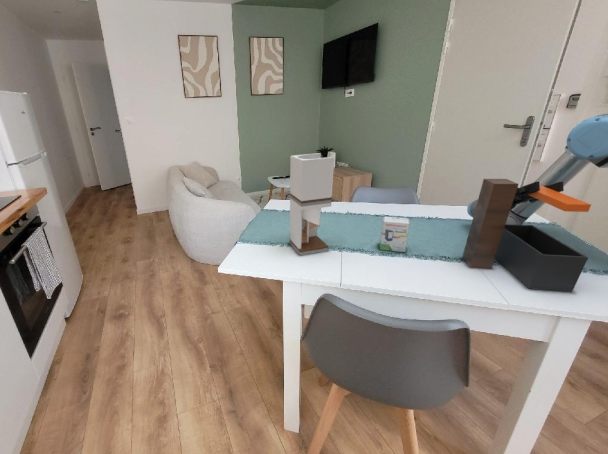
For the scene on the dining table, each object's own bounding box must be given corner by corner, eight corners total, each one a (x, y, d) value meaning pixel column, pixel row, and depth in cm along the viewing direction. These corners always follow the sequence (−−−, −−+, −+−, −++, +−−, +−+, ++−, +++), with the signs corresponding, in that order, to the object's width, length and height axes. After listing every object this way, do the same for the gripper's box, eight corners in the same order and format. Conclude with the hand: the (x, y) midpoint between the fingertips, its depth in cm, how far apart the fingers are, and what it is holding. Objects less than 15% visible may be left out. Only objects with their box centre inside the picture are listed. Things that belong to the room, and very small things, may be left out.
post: (461, 258, 100) (483, 178, 89) (481, 259, 99) (506, 178, 88) (470, 267, 95) (494, 183, 84) (491, 268, 93) (518, 183, 82)
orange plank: (521, 191, 91) (523, 185, 91) (540, 192, 90) (542, 185, 89) (564, 211, 75) (567, 204, 74) (588, 211, 74) (591, 204, 73)
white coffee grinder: (300, 255, 108) (302, 160, 94) (289, 243, 117) (290, 155, 104) (328, 250, 110) (334, 157, 96) (315, 239, 120) (319, 153, 106)
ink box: (403, 246, 110) (409, 217, 105) (405, 253, 105) (410, 223, 101) (379, 244, 113) (383, 215, 108) (379, 250, 108) (383, 220, 104)
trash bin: (488, 252, 103) (496, 224, 99) (521, 254, 101) (532, 225, 96) (528, 288, 83) (542, 255, 79) (572, 292, 81) (588, 257, 76)
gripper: (470, 192, 108) (512, 173, 86) (527, 192, 105) (587, 173, 82) (471, 211, 108) (513, 198, 85) (528, 213, 104) (589, 199, 81)
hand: (549, 186), depth 84 cm, fingers closed on orange plank, 5 cm apart
